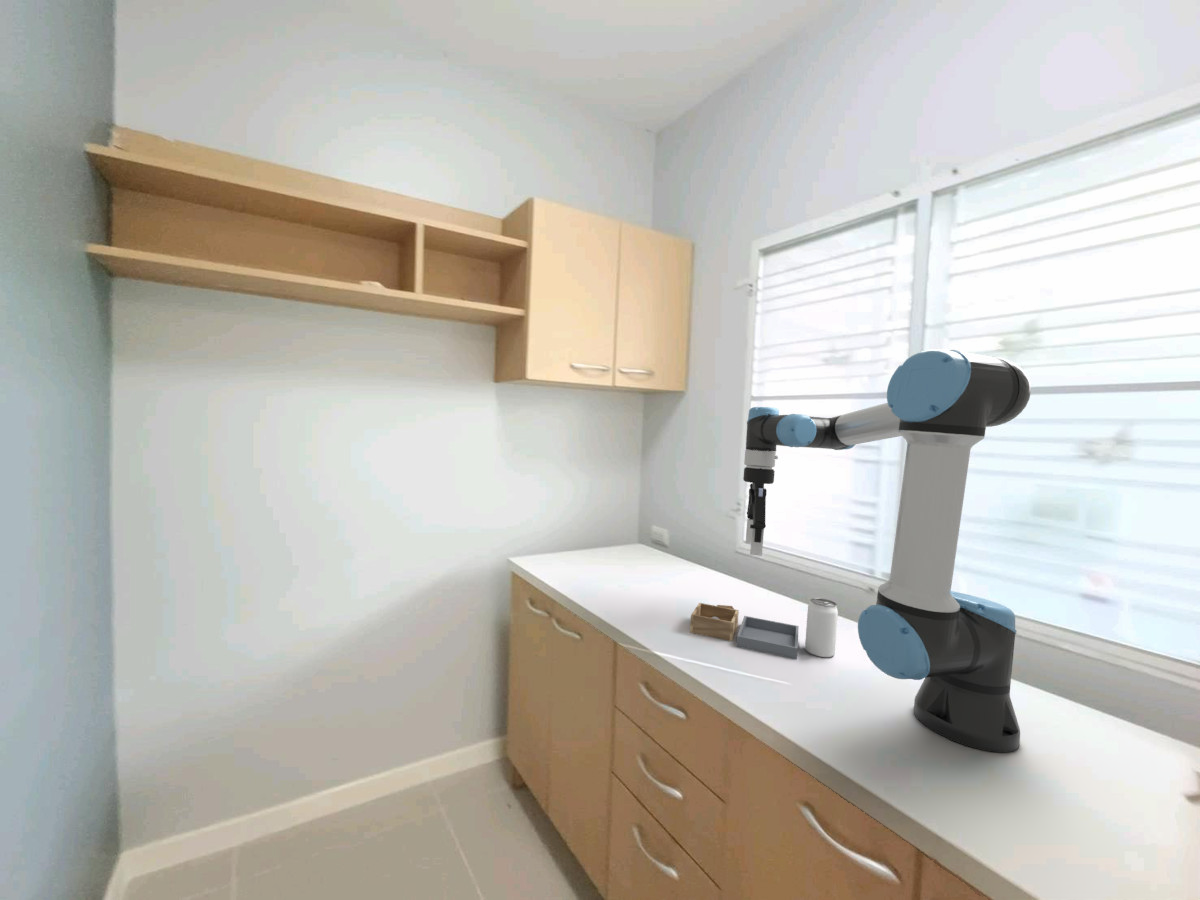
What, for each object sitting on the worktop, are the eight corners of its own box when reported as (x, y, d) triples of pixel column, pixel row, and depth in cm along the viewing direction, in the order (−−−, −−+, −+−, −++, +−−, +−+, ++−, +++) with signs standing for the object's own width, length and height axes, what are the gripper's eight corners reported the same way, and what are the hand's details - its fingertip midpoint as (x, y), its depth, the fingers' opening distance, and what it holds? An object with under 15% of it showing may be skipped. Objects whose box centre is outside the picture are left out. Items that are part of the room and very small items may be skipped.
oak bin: (731, 643, 117) (733, 622, 117) (689, 634, 121) (691, 614, 121) (737, 629, 127) (738, 610, 127) (698, 621, 131) (699, 602, 131)
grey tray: (796, 661, 110) (797, 648, 110) (736, 648, 115) (737, 636, 115) (797, 637, 124) (798, 626, 124) (743, 627, 129) (744, 615, 129)
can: (839, 659, 112) (843, 607, 112) (811, 657, 112) (815, 605, 112) (827, 647, 119) (830, 598, 118) (800, 645, 119) (804, 596, 119)
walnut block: (734, 626, 129) (735, 611, 129) (719, 624, 130) (720, 609, 129) (731, 620, 133) (732, 605, 133) (716, 619, 134) (717, 604, 133)
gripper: (782, 471, 113) (775, 562, 114) (768, 465, 138) (762, 540, 139) (748, 469, 115) (741, 558, 116) (740, 463, 139) (735, 537, 140)
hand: (753, 549), depth 127 cm, fingers open, 13 cm apart
